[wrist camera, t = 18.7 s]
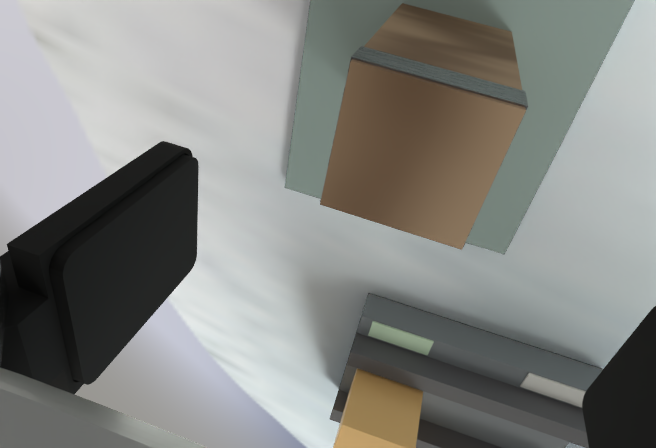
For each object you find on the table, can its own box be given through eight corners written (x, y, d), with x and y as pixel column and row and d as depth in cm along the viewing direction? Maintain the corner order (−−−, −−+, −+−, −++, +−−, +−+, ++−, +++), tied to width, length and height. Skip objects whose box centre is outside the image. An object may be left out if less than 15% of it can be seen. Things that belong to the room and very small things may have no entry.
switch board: (602, 369, 27) (614, 421, 25) (529, 456, 33) (533, 507, 30) (368, 293, 29) (355, 334, 26) (338, 389, 35) (325, 431, 32)
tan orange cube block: (425, 374, 29) (415, 450, 25) (407, 412, 31) (395, 487, 27) (361, 353, 29) (341, 424, 25) (349, 391, 31) (328, 462, 28)
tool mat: (694, -129, 15) (700, -130, 15) (504, 247, 25) (504, 254, 24) (342, -197, 17) (338, -200, 16) (288, 182, 26) (284, 187, 26)
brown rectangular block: (513, 30, 19) (528, 109, 12) (471, 135, 21) (462, 251, 14) (401, 1, 19) (349, 58, 12) (374, 107, 22) (318, 205, 15)
